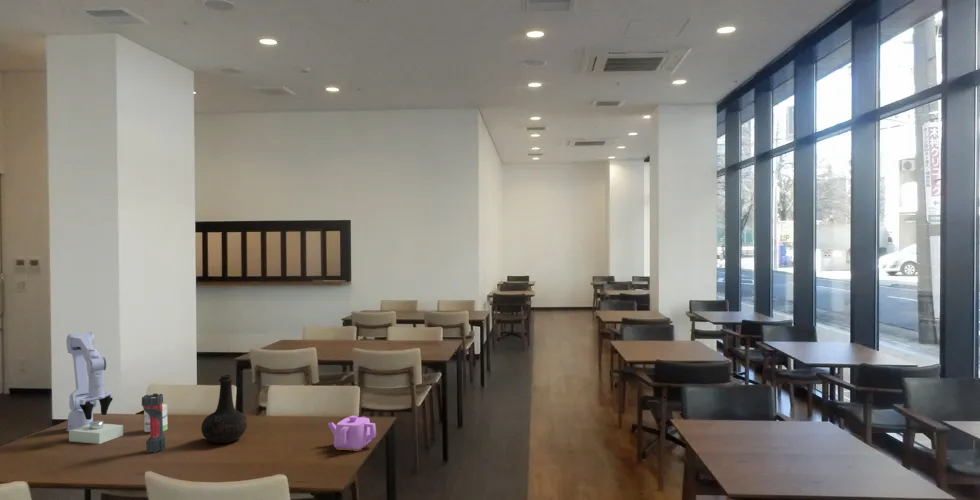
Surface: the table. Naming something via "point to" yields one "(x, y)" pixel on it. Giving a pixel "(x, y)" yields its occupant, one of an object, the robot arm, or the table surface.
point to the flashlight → (154, 422)
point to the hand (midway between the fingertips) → (96, 416)
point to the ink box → (147, 419)
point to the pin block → (96, 433)
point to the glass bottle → (224, 417)
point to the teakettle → (353, 432)
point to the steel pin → (96, 425)
